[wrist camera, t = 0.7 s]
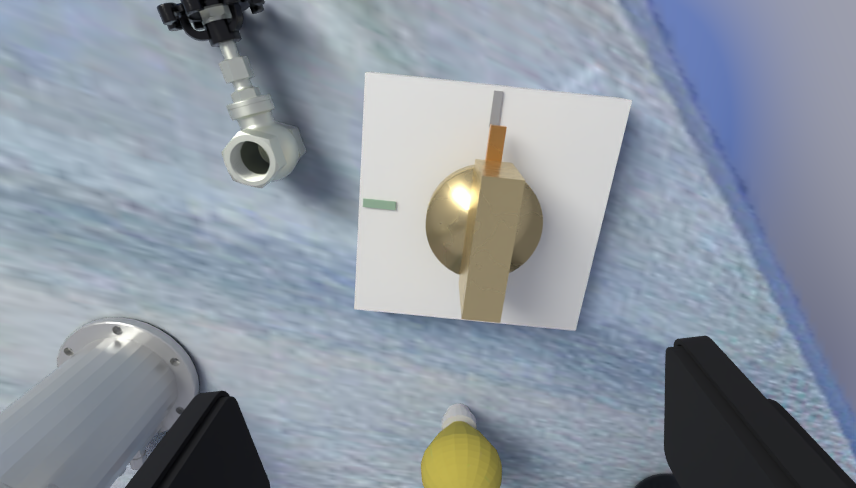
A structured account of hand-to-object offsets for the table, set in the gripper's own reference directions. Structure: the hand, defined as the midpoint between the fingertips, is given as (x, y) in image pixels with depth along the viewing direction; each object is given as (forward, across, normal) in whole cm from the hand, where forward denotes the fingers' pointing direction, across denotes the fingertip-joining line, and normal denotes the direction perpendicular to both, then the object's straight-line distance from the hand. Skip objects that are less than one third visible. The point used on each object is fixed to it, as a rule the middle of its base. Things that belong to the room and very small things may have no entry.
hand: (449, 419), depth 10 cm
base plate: (+28, -2, +4) cm, 28 cm away
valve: (+28, +13, -7) cm, 32 cm away
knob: (+25, -2, +3) cm, 25 cm away
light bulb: (+28, +3, +24) cm, 37 cm away
